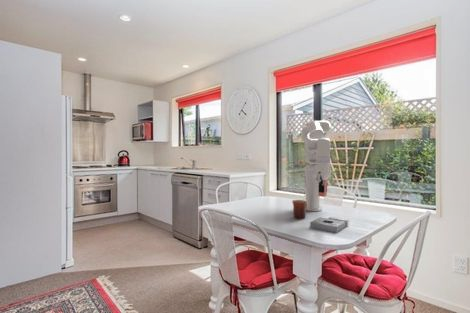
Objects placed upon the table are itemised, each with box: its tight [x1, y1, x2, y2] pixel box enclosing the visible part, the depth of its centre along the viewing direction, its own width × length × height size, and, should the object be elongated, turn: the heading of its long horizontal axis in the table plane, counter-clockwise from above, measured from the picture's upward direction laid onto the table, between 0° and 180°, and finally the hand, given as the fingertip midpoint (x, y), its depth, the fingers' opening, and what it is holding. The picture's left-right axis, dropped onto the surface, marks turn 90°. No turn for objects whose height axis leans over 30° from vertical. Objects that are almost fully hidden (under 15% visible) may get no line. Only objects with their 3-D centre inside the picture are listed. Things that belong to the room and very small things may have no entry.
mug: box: [291, 199, 307, 220], centre depth 168 cm, size 12×9×10 cm
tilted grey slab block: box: [327, 216, 350, 228], centre depth 153 cm, size 10×3×3 cm, turn 52°
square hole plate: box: [309, 217, 347, 234], centre depth 146 cm, size 14×14×3 cm
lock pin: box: [318, 179, 328, 197], centre depth 157 cm, size 3×3×10 cm
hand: (322, 191), depth 157 cm, fingers closed on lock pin, 3 cm apart
